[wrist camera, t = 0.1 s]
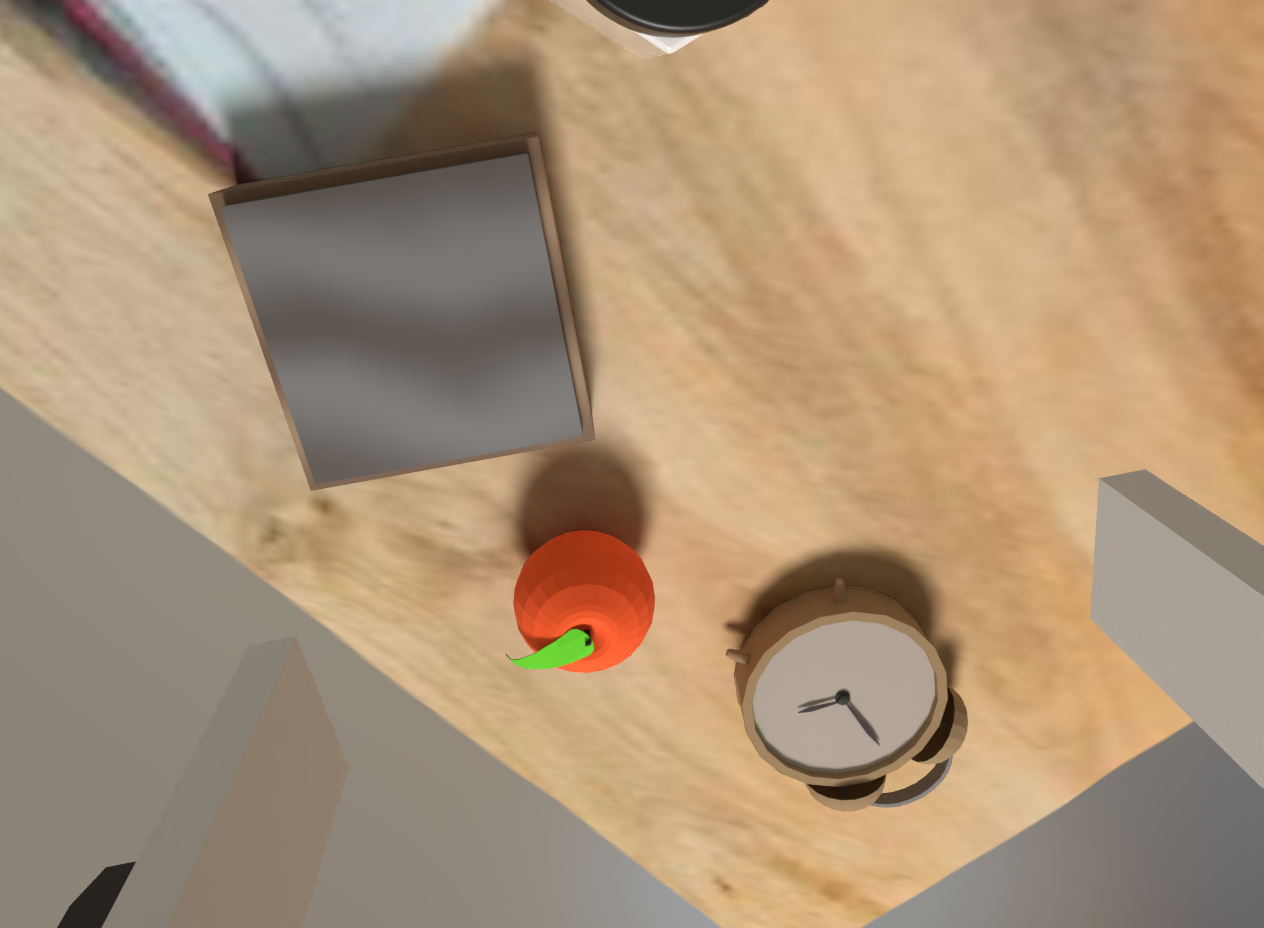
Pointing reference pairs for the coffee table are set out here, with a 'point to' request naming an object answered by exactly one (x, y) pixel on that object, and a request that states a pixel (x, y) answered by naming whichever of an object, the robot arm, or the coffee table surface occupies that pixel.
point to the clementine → (582, 603)
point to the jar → (657, 21)
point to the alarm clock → (848, 696)
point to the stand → (412, 309)
